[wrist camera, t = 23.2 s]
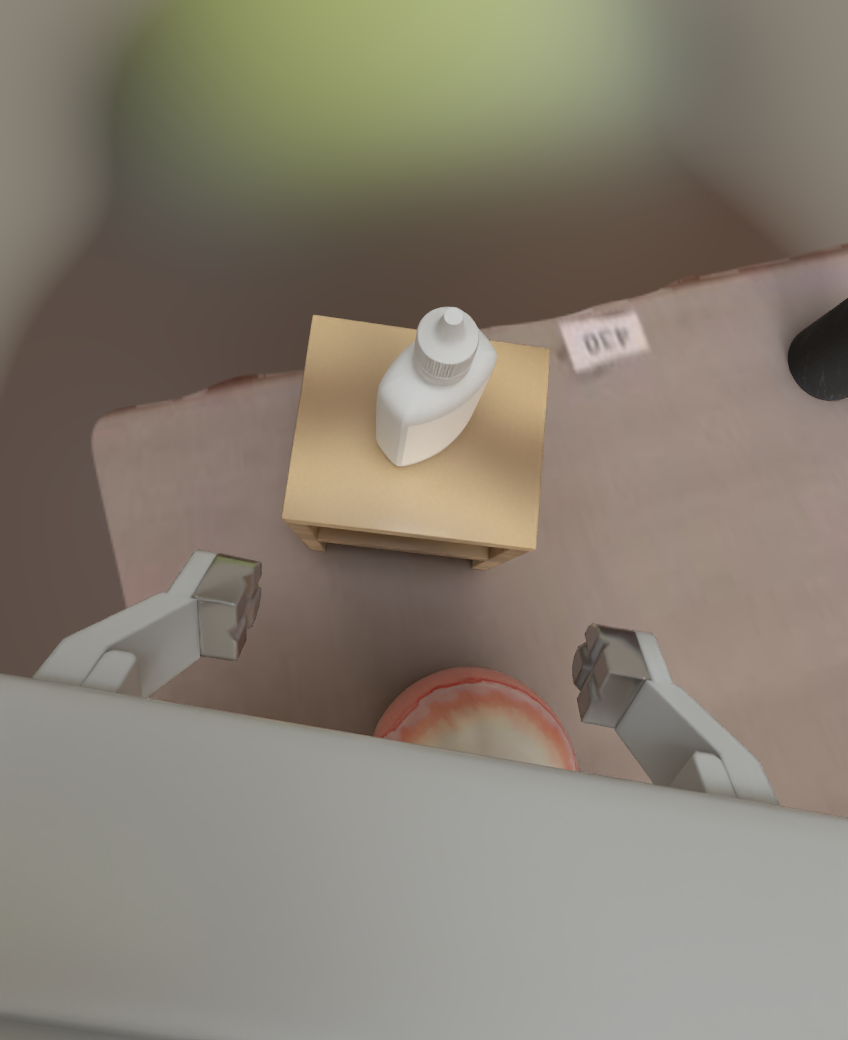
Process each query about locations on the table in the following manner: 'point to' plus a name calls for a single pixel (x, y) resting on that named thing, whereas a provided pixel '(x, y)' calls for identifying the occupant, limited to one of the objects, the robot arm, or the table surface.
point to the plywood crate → (425, 485)
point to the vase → (479, 718)
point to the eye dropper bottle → (433, 387)
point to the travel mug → (823, 355)
